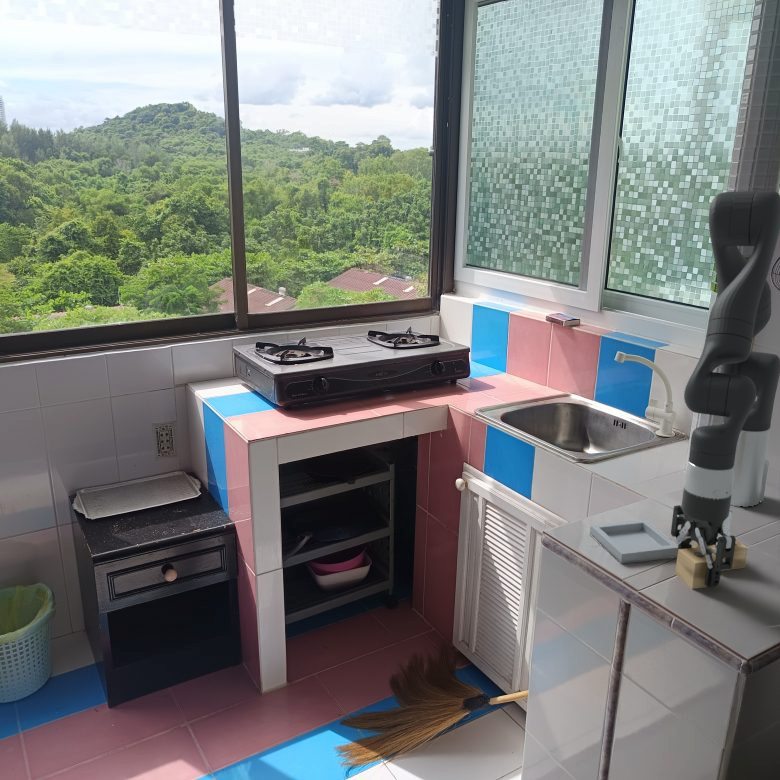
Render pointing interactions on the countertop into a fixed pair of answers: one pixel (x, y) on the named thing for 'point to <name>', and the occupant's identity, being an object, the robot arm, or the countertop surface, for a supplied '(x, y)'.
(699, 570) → the block
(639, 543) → the tray
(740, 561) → the oak block
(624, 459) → the countertop surface
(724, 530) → the cylinder
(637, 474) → the countertop surface
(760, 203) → the robot arm
